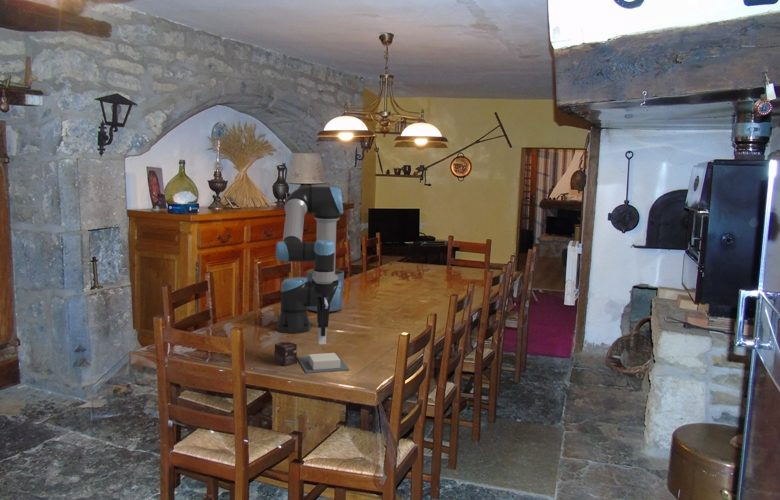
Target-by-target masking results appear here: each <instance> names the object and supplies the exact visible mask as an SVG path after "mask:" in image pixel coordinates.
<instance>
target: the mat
mask: <svg viewBox="0 0 780 500" xmlns="http://www.w3.org/2000/svg"><path fill="white" fill-rule="evenodd" d="M336 355H337V356H338V358H339V359H340V360H341V361H340V368H333V369H319V370H313V368H312V367H311V365H310V364H309V355H308V356H297V360H298V361H297V362H298V363H299V365H300V366H301V368H302V369H303V371H304V373H305V374H313V373H314V374H316V373H331V372H344V371H350V369H349V367H348V365H346V363H345V362H344V360H342V358H341V357H340V356H339V355H338V354H336Z"/></svg>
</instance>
